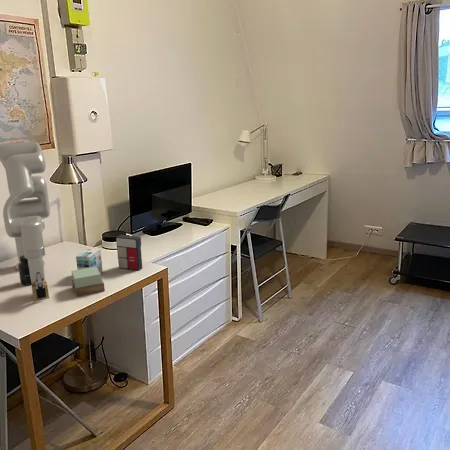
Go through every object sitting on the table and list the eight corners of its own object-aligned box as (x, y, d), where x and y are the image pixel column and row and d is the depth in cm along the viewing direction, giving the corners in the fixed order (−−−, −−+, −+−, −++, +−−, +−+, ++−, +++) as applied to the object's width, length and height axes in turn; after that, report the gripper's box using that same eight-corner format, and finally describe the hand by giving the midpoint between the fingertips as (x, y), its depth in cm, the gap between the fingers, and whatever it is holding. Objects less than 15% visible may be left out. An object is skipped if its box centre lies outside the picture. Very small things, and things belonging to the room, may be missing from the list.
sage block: (72, 279, 190) (71, 270, 189) (97, 275, 194) (96, 266, 193) (75, 288, 181) (74, 278, 180) (101, 283, 185) (100, 274, 184)
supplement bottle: (27, 287, 193) (23, 260, 189) (17, 284, 196) (13, 257, 193) (41, 281, 198) (37, 255, 195) (31, 278, 202) (27, 252, 199)
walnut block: (72, 288, 191) (71, 279, 190) (99, 283, 196) (98, 274, 195) (76, 298, 182) (75, 288, 181) (104, 292, 186) (103, 283, 185)
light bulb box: (92, 280, 198) (89, 256, 195) (77, 279, 199) (75, 256, 196) (103, 271, 208) (101, 248, 205) (89, 270, 209) (87, 248, 206)
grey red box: (117, 268, 211) (114, 237, 207) (123, 265, 215) (120, 234, 211) (138, 271, 207) (135, 239, 203) (143, 267, 211) (140, 236, 207)
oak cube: (33, 295, 184) (31, 282, 183) (47, 292, 187) (45, 280, 185) (34, 300, 179) (32, 287, 178) (49, 297, 182) (47, 284, 180)
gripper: (22, 247, 184) (28, 287, 189) (25, 260, 169) (32, 303, 173) (42, 244, 187) (48, 284, 192) (47, 257, 172) (53, 299, 177)
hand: (40, 293), depth 183 cm, fingers open, 8 cm apart
